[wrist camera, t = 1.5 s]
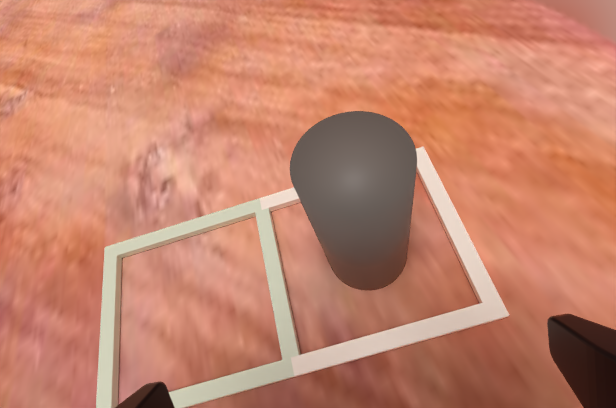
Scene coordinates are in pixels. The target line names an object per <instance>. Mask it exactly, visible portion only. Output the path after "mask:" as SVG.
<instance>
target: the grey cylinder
mask: <svg viewBox="0 0 616 408" xmlns="http://www.w3.org/2000/svg"><path fill="white" fill-rule="evenodd" d="M416 169H417V153H416V149H415V145H414V143H413V141H412V139H411V137H410V136H409V134H408V133H407V132H406V131H405V129H404V128H403V127H402V126H400V125H399V124H398V123H396V122H395V121H393V120H392V119H390V118H388V117H385V116H383V115H380V114H377V113H372V112H364V111H353V112H345V113H340V114H337V115H333V116H331V117H328V118H326V119H324V120H322V121H320V122H318V123H317V124H315V125H314V126H313V127H311V128H310V129H309V130H308V131H307V132H306V133H305V134H304V135H303V136H302V137H301V139H300V140H299V141H298V143H297V145H296V147H295V148H294V151H293V154H292V157H291V161H290V176H291V180H292V183H293V186H294V188H295V190H296V192H297V195H298V197H299V199H300V201H301V203H302V205H303V207H304V210H305V212H306V214H307V216H308V218H309V220H310V222H311V225H312V227H313V229H314V231H315V233H316V235H317V237H318V240H319V242H320V244H321V246H322V248H323V250H324V252H325V255H326V257H327V259H328V261H329V263H330V265H331V268H332V270H333V271H334V273H335V274H336V276H337V277H338V278H339V279H340V280H341V281H342V282H344V283H345V284H347V285H349V286H350V287H353V288H356V289H360V290H376V289H380V288H383V287H385V286H387V285H389V284H391V283H392V282H393V281H394V280H395V279H396V278H397V277H398V276H399V275H400V274H401V272H402V270H403V269H404V266H405V263H406V259H407V250H408V241H409V232H410V223H411V214H412V205H413V196H414V187H415V178H416Z"/></svg>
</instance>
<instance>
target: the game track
mask: <svg viewBox="0 0 616 408" xmlns="http://www.w3.org/2000/svg"><path fill="white" fill-rule="evenodd" d="M416 153H417V169H416V171H417V173H418V175H419V177H420V179H421V182H422V184H423V186H424V188H425V190H426V192H427V194H428V196H429V198H430V200H431V203H432V205H433V207H434V209H435V211H436V213H437V215H438V217H439V219H440V221H441V224H442V226H443V228H444V230H445V232H446V234H447V236H448V238H449V240H450V242H451V245H452V247H453V249H454V251H455V253H456V255H457V257H458V259H459V261H460V263H461V266H462V268H463V270H464V272H465V274H466V276H467V278H468V280H469V282H470V284H471V287H472V289H473V291H474V293H475V295H476V297H477V299H478V301H479V303H480V304H477V305H473V306H470V307H466V308H463V309H459V310H456V311H452V312H449V313H445V314H442V315H438V316H435V317H431V318H428V319H424V320H421V321H417V322H414V323H410V324H407V325H403V326H399V327H396V328H392V329H389V330H385V331H382V332H378V333H375V334H371V335H368V336H364V337H361V338H357V339H354V340H350V341H347V342H343V343H340V344H336V345H333V346H329V347H326V348H322V349H319V350H315V351H312V352H308V353H305V354H301V353H300V348H299V343H298V338H297V334H296V329H295V324H294V319H293V315H292V310H291V305H290V300H289V295H288V291H287V286H286V281H285V276H284V272H283V267H282V262H281V257H280V253H279V248H278V243H277V238H276V234H275V229H274V224H273V219H272V215H271V211H274V210H278V209H281V208H284V207H287V206H290V205H294V204H297V203H300V202H301V201H300V199H299V197H298V195H297V192H296V190H295V188H291V189H287V190H284V191H281V192H278V193H275V194H272V195H268V196H265V197H262V198H259V199H256V200H253V201H249V202H246V203H243V204H240V205H237V206H234V207H230V208H227V209H224V210H221V211H218V212H215V213H211V214H208V215H205V216H202V217H199V218H196V219H192V220H189V221H186V222H183V223H180V224H176V225H173V226H170V227H167V228H164V229H161V230H157V231H154V232H151V233H148V234H145V235H142V236H138V237H135V238H132V239H129V240H126V241H123V242H119V243H116V244H113V245H110V246H107V247H105V252H104V271H103V289H102V307H101V325H100V344H99V362H98V380H97V398H96V408H115V407H117V406H118V383H119V347H120V311H121V276H122V258H124V257H127V256H131V255H134V254H137V253H140V252H143V251H147V250H150V249H153V248H156V247H159V246H163V245H166V244H169V243H172V242H175V241H178V240H182V239H185V238H188V237H191V236H194V235H198V234H201V233H204V232H207V231H210V230H214V229H217V228H220V227H223V226H226V225H230V224H233V223H236V222H239V221H242V220H246V219H249V218H252V217H255V216H256V219H257V225H258V230H259V236H260V241H261V247H262V252H263V257H264V263H265V268H266V274H267V279H268V284H269V290H270V295H271V301H272V306H273V312H274V317H275V322H276V328H277V333H278V339H279V344H280V350H281V355H282V360H280V361H277V362H273V363H270V364H266V365H263V366H259V367H256V368H252V369H249V370H245V371H242V372H238V373H235V374H231V375H228V376H224V377H221V378H217V379H214V380H210V381H207V382H203V383H200V384H196V385H193V386H189V387H186V388H182V389H179V390H175V391H172V392H169V394H170V397H171V399H172V402H173V405H174V407H175V408H187V407H191V406H195V405H198V404H202V403H205V402H209V401H212V400H216V399H219V398H223V397H227V396H230V395H234V394H237V393H241V392H244V391H248V390H251V389H255V388H259V387H262V386H266V385H269V384H273V383H276V382H280V381H283V380H287V379H290V378H294V377H298V376H301V375H305V374H308V373H312V372H315V371H319V370H322V369H326V368H330V367H333V366H337V365H340V364H344V363H347V362H351V361H354V360H358V359H362V358H365V357H369V356H372V355H376V354H379V353H383V352H386V351H390V350H394V349H397V348H401V347H404V346H408V345H411V344H415V343H418V342H422V341H426V340H429V339H433V338H436V337H440V336H443V335H447V334H450V333H454V332H458V331H461V330H465V329H468V328H472V327H475V326H479V325H482V324H486V323H490V322H493V321H497V320H500V319H504V318H507V317H508V316H510V315H509V314H508V312H507V310H506V308H505V306H504V304H503V302H502V300H501V298H500V296H499V294H498V292H497V290H496V288H495V286H494V284H493V282H492V280H491V278H490V276H489V274H488V272H487V270H486V268H485V266H484V264H483V262H482V261H481V259H480V257H479V255H478V253H477V251H476V249H475V247H474V245H473V243H472V241H471V239H470V237H469V235H468V233H467V231H466V229H465V227H464V225H463V223H462V221H461V219H460V217H459V215H458V213H457V211H456V209H455V208H454V206H453V204H452V202H451V200H450V198H449V196H448V194H447V192H446V190H445V188H444V186H443V184H442V182H441V180H440V178H439V176H438V174H437V172H436V170H435V168H434V166H433V164H432V162H431V160H430V158H429V157H428V155H427V153H426V151H425V149H424V147H420V148H417V149H416Z"/></svg>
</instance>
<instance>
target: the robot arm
mask: <svg viewBox="0 0 616 408" xmlns="http://www.w3.org/2000/svg"><path fill="white" fill-rule="evenodd" d="M547 325H548V336H549V348H550V353H551V356H552V358H553V360H554V362H555V363H556V365H557V366H558V368H559V370H560V371H561V373H562V374H563V376H564V377H565V379H566V381H567V382H568V384H569V385H570V387H571V388H572V390H573V392H574V393H575V395H576V396H577V398H578V399H579V401H580V403H581V404H582V406H583V407H584V408H616V330H614V329H611V328H608V327H605V326H602V325H600V324H597V323H594V322H591V321H588V320H586V319H583V318H580V317H577V316H574V315H571V314H563V315H557V316H551V317H550V318H549V319H548V323H547ZM115 408H175V407H174V405H173V402H172V399H171V397H170V394H169V392H168V389H167V387H166V385H165V384H164V383H163V382H155V383H149V384H146V385H144V386H143V387H141V388H140V389H139V390H137V391H136V392H135V393H134V394H132V395H131V396H130V397H128V398H127V399H126V400H124V401H123V402H122V403H120V404H119V405H118V406H117V407H115Z"/></svg>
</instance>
